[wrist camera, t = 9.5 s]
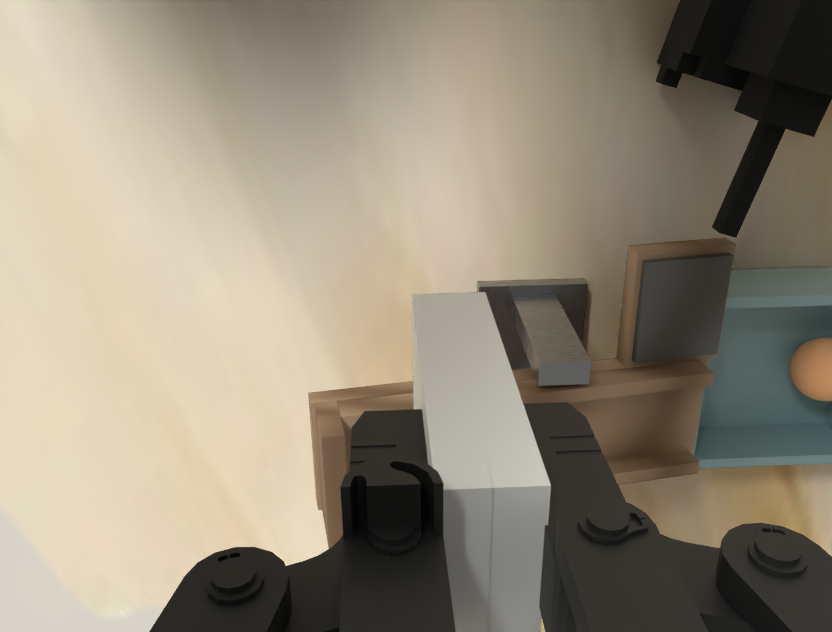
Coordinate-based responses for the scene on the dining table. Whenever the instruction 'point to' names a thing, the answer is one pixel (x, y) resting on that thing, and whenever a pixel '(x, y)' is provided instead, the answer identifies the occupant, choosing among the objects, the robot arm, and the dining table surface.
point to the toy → (755, 75)
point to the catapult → (592, 376)
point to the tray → (766, 373)
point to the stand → (542, 327)
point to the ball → (813, 369)
